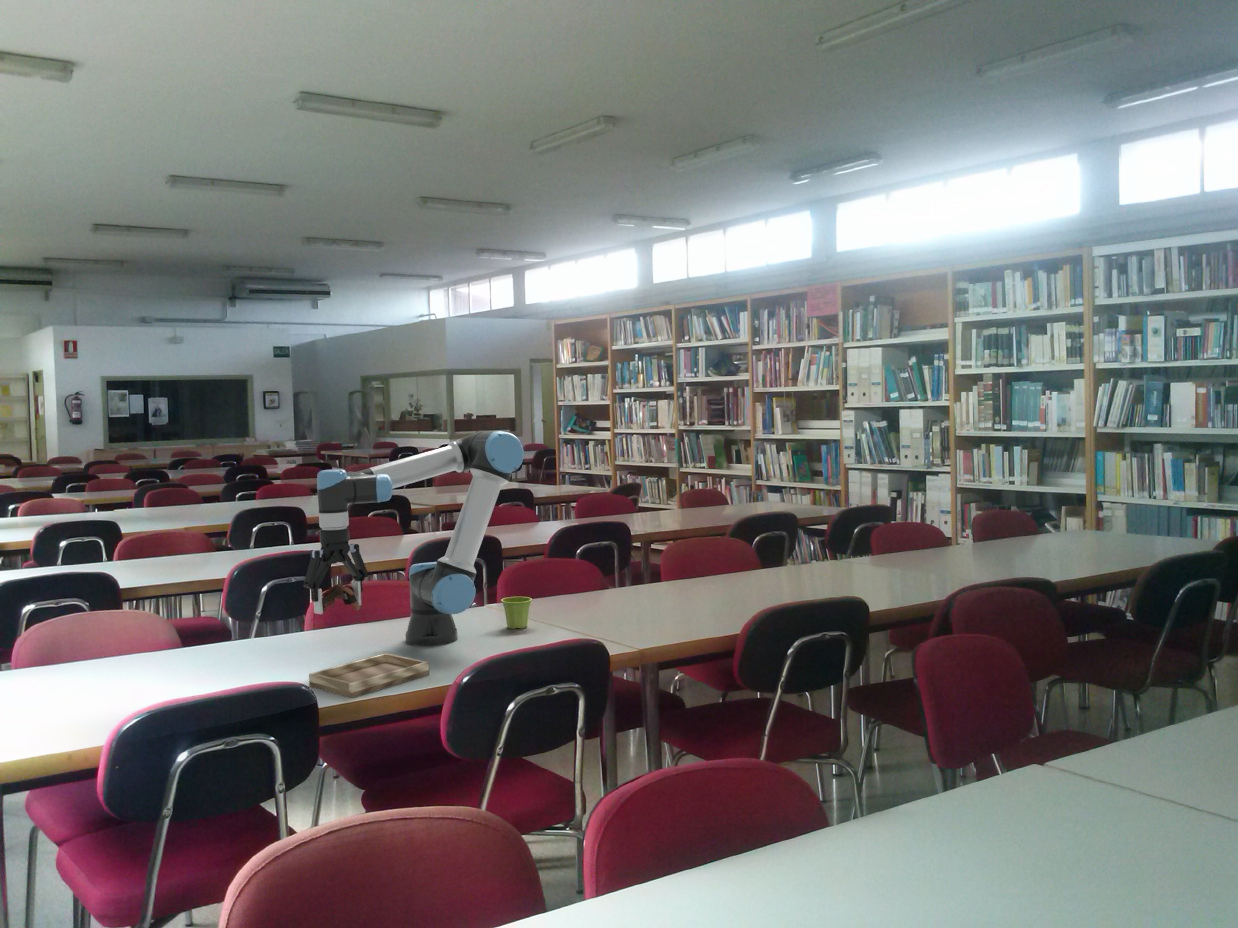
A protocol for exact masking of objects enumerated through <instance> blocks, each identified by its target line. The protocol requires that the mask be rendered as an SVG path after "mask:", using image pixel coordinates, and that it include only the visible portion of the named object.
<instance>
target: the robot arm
mask: <svg viewBox="0 0 1238 928" xmlns="http://www.w3.org/2000/svg"><path fill="white" fill-rule="evenodd" d="M524 455H525V451H524V447H523V445H522V443H521V441H520V439H519V438H518V437H517V436H516V435H514V434H513V433H511V432H507V431H503V430H494V431H492V430H491V431H489V430H482V431H478V432H475V433H473V434H470V435H467V436H464V437H461V438H458V439H455V440H452V441H450V442H448V445H447V446H443V447H439V448H437V449H432V450H428V451H425V452H422V453H418V454H415V455H412V456H407V457H404V458H400V459H396V460H393V461H390V462H386V463H383V464H379V465H375V466H372V467H368V468H366V469H362V470H358V471H357V470H356V471H348V472H347V471H346V470H345V469H339V468H337V469H325V470H324V469H323V470H320V471H319V472H317V474H316V475H317V477H316V479H317V482H316V490H317V503H318V504H317V505H318V525H319V526H318V527H320V530H319V543H320V545H321V547H320V549H318V550H317V549H311V550H310V553H309V554H310V560H309V563H308V567H307V571H306V575H305V579H304V580H303V581H304V582H303V588H306V589H310V599H311V602H313V613H314V614H316V615H317V614H318V615H323V614H324V611H323V606H322V598H323V596H322V594H323V589H322V588H320V586H321V585H322V582H323V580H324V578H325V577H326V574H327V572H328V571H329V569H330V567H331V566H332V565H333V564H337V563H342V564H343V566H344V567H345V569H346V570H347V571H348V572H349V574H350V575H351V577H352V578H353V579H354V580H351V587H352V588H353V590H354V594H355V596H356V599H357V601H358V603H359V606H362V592H363V582H364V581H365V579H366V578H368V577H369V572H368V570H367V567H366V564H365V563H364V562H365V561H364V560H363V558H362V554H361V552H360V544H358V543H350V544H349V541H350V529H349V528H348V526H349V525H350V521H349V520H350V519H349V508H348V507H349V505H355V504H369V503H370V504H371V503H378V504H379V503H381V502H387V501H390V499H391V498H392V495H393V490H394V489H396V488H400V487H402V486H407V485H409V484H413V483H416V482H420V481H423V480H427V479H431V478H433V477H438V476H440V475H444V474H447V473H451V472H454V471H455V472H457V473H459V474H460V473H463V472H466V471H470V473H471V475H472V479H471V482H470V483H469V488H468V490H467V493H466V495H465V498H464V500H463V504H462V507H461V509H460V512H459V515H458V518H457V521H456V523H455V527H454V528H453V533H452V534H451V535H452V536H451V538H450V541H449V543H448V547H447V548H446V552H445V554H444V556H442V557H440V558H438V559H437V561H433V562H431V561H430V562H421V563H415V564H412V565H410V567H409V574H408V579H409V597H410V598H409V602H410V618H409V621H408V625H407V629H406V632H405V642H406V644H409V645H414V646H435V645H437V646H438V645H444V644H448V643H452V642H455V641H456V640H458V628H457V627H456V624H455V620H454V617H453V615H457V614H458V615H459V614H460V613H463V612H465V611H467V609H469V608H470V606H471V605H472V604H473V602H474V600H475V597H476V593H477V592H476V591H477V590H476V586H475V583H474V581H475V579H476V575H477V570H476V568H475V562H476V559H477V557H478V554H479V551H480V548H481V545H482V543H483V539H484V537H485V534H486V532H487V528H488V525H489V523H490V520H491V517H492V513H493V511H494V508H495V506H496V504H497V503H496V502H497V500H498V497H499V494H500V491H501V489H502V487H503V486H504V485H505V486H506V485H507V484H508V483H509V481H510V479H511V476H512V473H513V472H515V471H517V470H518V469H519V468H520V466H522V463H523V460H524ZM349 552H350V556H351V557H350V556H349ZM352 560H353V561H352Z"/></svg>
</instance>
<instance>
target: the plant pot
mask: <svg viewBox="0 0 1238 928" xmlns="http://www.w3.org/2000/svg"><path fill="white" fill-rule="evenodd" d="M532 600H533V598H531V597H528V596H510V597H504V598H501V599H500V601H501V603H502V606H503V608H504V613H505V614H504V615H505V620H506V626H507V628H508V629H512V630H515V629H517V628H518V629H524V628H527V627H528V622H529V621H528V620H529V613H530V606H531V603H532Z"/></svg>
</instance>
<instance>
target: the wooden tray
mask: <svg viewBox="0 0 1238 928" xmlns="http://www.w3.org/2000/svg"><path fill="white" fill-rule="evenodd" d="M429 675H430V662H429V661H426V660H425V661H424V660H420V659H415V658H411V657H406V656H402V655H396V654H392V653H386V652H385V653H382V654H379V655H375V656H370V657H367V658H364V659H359V660H356V661H352V662H348V663H344V664H339V665H336V666H334V667H329V668H326V669H325V668H324V669H322V670H318V671H315V672H314V671H313V672H310V673H308V680H309V681H308V683H309V687H310V688H315V689H318V690H320V691H321V690H322V691H326V692H329V693H333V694H336V693H337V694H336V695H340V694H341V696H344V697H347V696H348V698H351V697H353V698H356V697H359V696H362V694H363V695H365V693H366V694H369V693H372V692H375V691H379V690H382V689H386V688H389V687H392V686H395V685H399V684H402V682H403V683H406V682H409V681H412V680H416V679H418V678H419V679H420V678H422V677H426V676H429ZM358 695H359V696H358ZM355 696H356V697H355Z"/></svg>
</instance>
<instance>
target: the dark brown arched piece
mask: <svg viewBox="0 0 1238 928" xmlns="http://www.w3.org/2000/svg"><path fill="white" fill-rule="evenodd" d="M336 599H338V600H342V601H343V603H344V605H345V606H347V605H352V607H353V608H354V611H355V613H356V612H358V611H360V608H361V605H359V603H358V601H357V599H356V596H355V594H354V590H353V588H352V585H350V584H345V585H343V583H337V584H335V585H333V586H331V587H329V588H328V589H327V590H326V591H324V592H322V606H323V612H326V611H327V608H328V607H329V606H336V604H335V601H336Z"/></svg>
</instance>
